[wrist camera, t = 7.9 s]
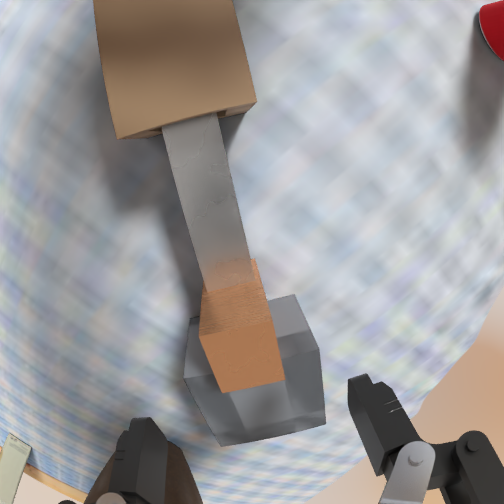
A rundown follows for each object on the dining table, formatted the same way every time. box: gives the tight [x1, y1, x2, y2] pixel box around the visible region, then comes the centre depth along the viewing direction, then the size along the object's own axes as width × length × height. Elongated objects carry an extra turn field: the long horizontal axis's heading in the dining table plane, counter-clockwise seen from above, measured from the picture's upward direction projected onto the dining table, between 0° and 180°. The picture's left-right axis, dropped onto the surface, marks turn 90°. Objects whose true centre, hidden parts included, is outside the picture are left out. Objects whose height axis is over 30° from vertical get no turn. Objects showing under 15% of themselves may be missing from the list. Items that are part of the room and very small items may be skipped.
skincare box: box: [0, 433, 31, 504], centre depth 23 cm, size 6×4×12 cm
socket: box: [183, 294, 326, 447], centre depth 21 cm, size 8×8×6 cm
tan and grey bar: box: [161, 112, 285, 393], centre depth 16 cm, size 20×3×7 cm, turn 12°
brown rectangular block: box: [93, 0, 257, 140], centre depth 13 cm, size 10×6×6 cm, turn 12°
